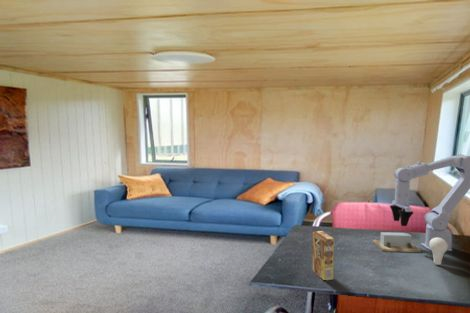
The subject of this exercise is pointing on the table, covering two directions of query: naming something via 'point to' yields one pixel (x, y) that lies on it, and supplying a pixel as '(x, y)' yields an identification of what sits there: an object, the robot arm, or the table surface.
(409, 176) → the robot arm
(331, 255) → the candy box
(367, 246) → the table surface
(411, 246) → the jig
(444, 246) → the lightbulb
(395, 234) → the light grey block
